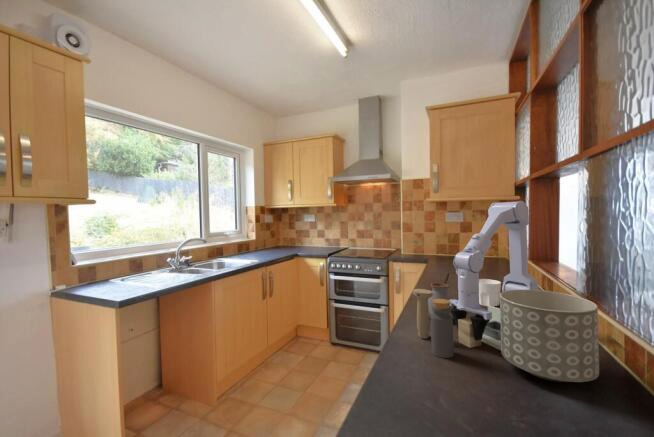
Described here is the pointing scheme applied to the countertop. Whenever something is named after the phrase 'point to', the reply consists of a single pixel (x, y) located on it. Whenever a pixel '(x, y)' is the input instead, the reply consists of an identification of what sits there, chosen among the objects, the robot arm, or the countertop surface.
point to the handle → (422, 311)
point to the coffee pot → (439, 294)
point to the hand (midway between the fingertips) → (469, 335)
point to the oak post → (467, 333)
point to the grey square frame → (491, 332)
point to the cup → (489, 292)
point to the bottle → (442, 329)
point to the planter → (550, 334)
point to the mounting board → (488, 339)
